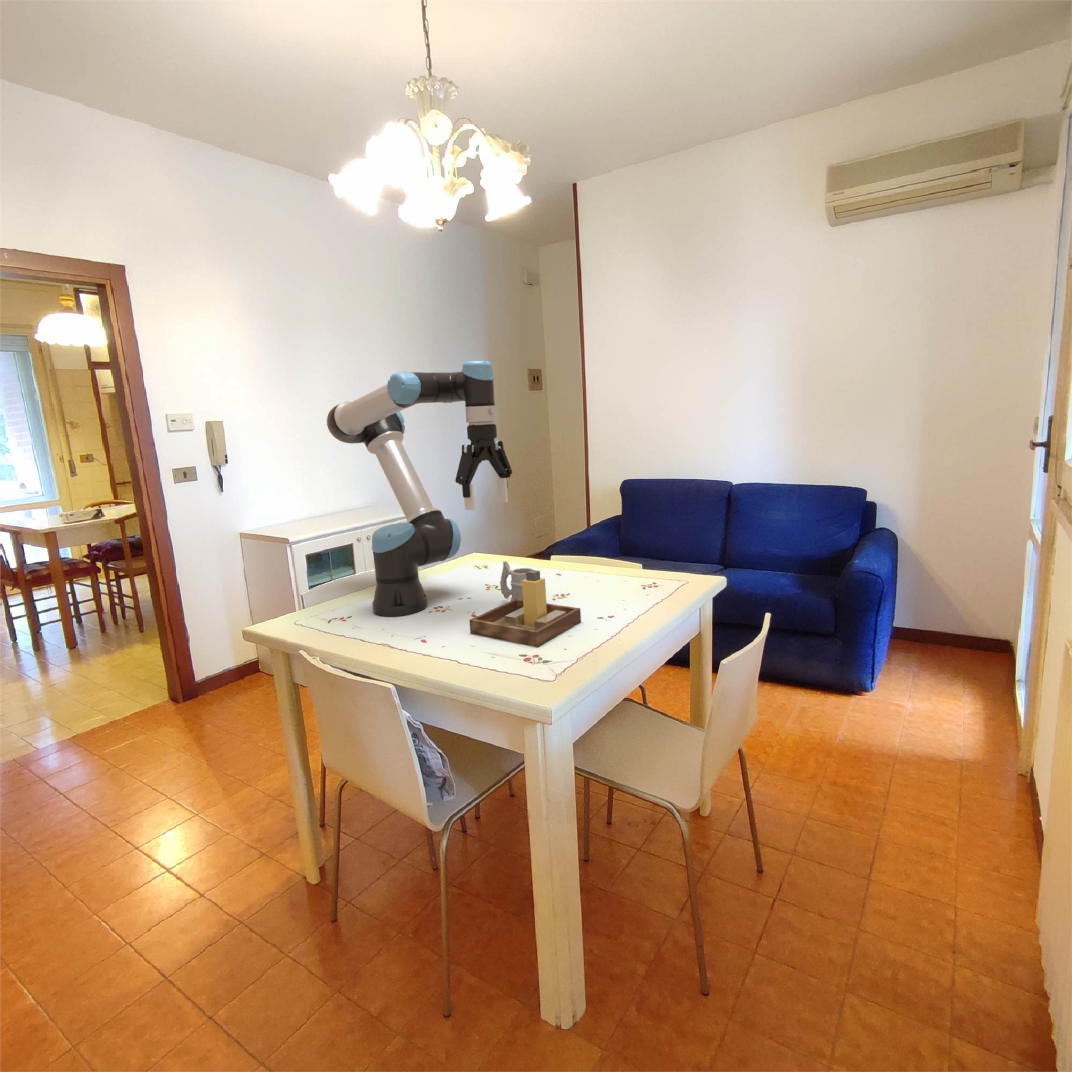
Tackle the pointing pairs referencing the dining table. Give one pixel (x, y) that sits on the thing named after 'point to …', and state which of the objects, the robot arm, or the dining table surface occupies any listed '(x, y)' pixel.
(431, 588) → the dining table surface
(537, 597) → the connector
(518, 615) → the inlet
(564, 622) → the box
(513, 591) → the mug
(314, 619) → the dining table surface
